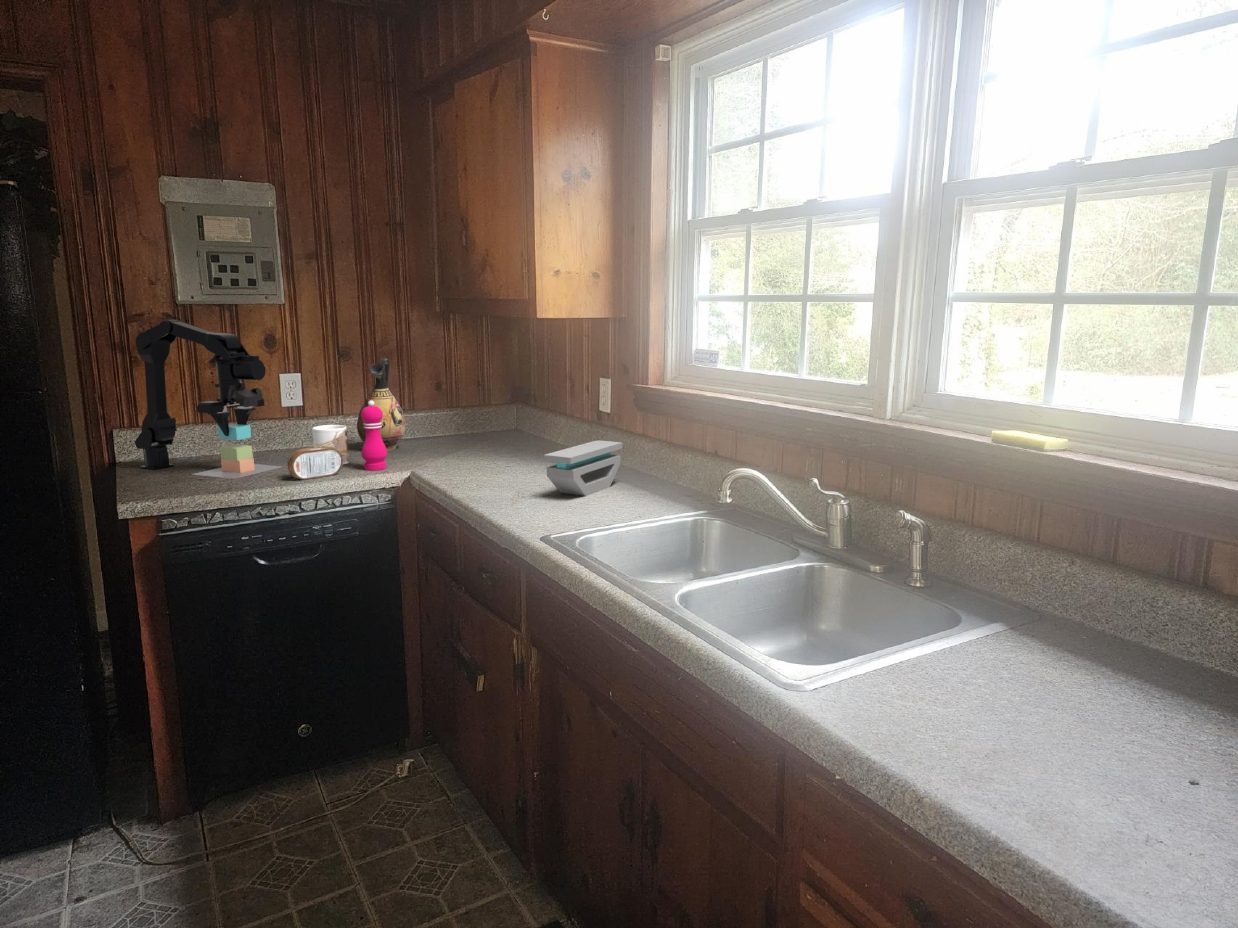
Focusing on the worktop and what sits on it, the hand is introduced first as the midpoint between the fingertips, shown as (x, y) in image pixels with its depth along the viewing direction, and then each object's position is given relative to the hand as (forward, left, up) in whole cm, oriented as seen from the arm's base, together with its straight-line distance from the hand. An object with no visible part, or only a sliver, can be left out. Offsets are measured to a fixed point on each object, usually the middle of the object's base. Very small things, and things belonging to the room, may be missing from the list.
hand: (234, 434), depth 229 cm
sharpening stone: (+102, +16, -11) cm, 104 cm away
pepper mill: (+33, +19, -11) cm, 40 cm away
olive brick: (0, 0, -7) cm, 7 cm away
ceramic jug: (+14, +47, -11) cm, 50 cm away
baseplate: (0, 0, -11) cm, 11 cm away
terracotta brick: (0, 0, -10) cm, 10 cm away
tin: (+26, +3, -11) cm, 29 cm away
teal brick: (0, 0, -1) cm, 1 cm away
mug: (+15, +22, -11) cm, 29 cm away
